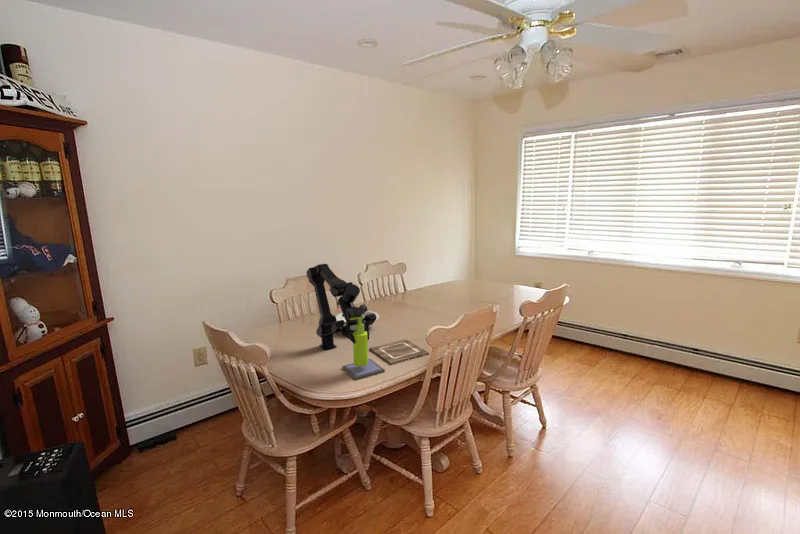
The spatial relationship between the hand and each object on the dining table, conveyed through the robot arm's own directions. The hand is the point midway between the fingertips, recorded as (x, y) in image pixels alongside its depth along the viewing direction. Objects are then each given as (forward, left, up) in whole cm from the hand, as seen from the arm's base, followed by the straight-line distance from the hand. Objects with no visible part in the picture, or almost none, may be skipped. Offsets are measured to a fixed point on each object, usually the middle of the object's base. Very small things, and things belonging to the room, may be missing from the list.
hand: (361, 341), depth 159 cm
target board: (-9, +23, -13) cm, 28 cm away
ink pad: (-1, +1, -13) cm, 13 cm away
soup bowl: (-49, +21, -13) cm, 55 cm away
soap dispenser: (-1, -1, -10) cm, 10 cm away
